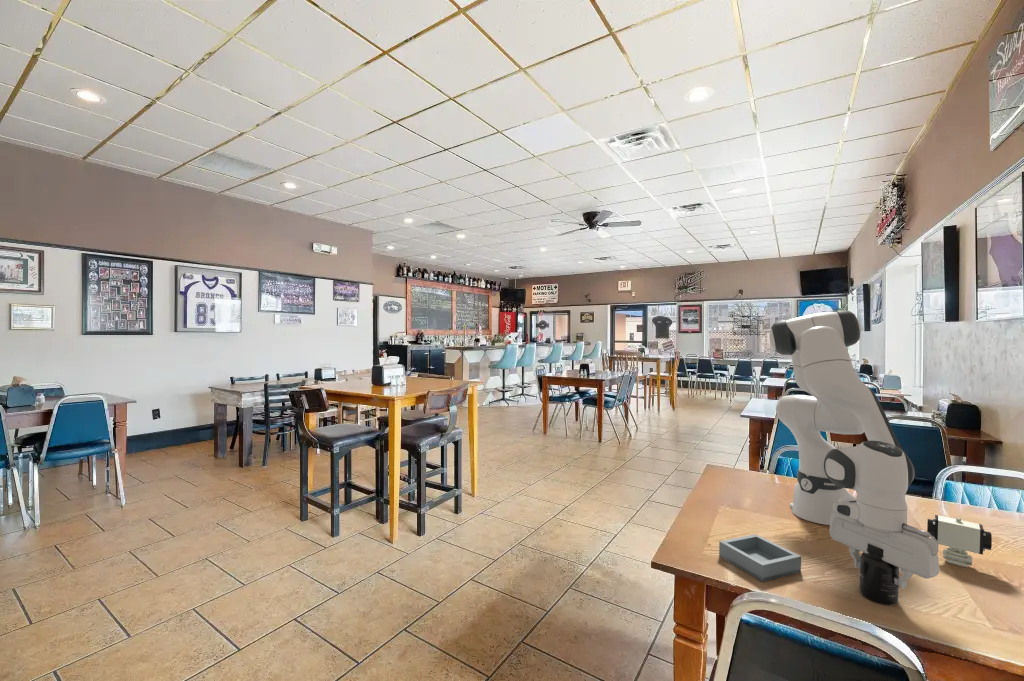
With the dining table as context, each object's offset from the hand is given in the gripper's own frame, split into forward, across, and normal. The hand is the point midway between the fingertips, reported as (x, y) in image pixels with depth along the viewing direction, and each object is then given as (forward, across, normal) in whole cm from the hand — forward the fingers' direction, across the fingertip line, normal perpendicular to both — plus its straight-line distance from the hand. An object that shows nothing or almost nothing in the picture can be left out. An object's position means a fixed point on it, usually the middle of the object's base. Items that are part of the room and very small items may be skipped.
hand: (879, 577), depth 101 cm
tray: (+5, +20, +13) cm, 24 cm away
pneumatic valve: (+5, +3, -37) cm, 37 cm away
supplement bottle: (+5, 0, 0) cm, 5 cm away
